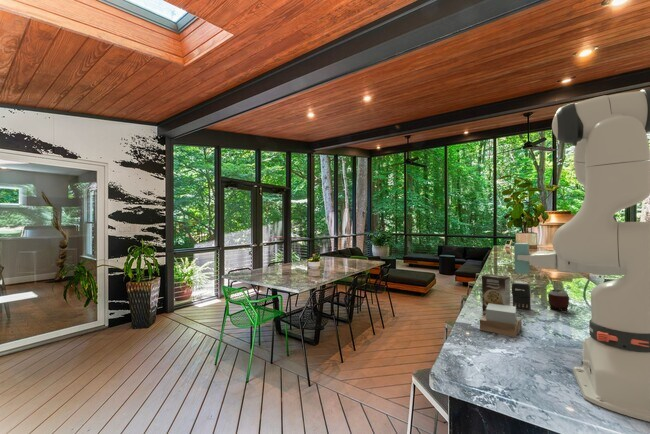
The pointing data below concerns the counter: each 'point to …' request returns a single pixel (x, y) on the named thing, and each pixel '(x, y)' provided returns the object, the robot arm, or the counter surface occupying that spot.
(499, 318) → the tower top
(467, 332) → the counter surface
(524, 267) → the teal block
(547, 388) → the counter surface
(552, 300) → the mate gourd
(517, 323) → the tower base
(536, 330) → the counter surface
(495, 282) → the coffee box
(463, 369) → the counter surface
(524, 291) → the battery charger
